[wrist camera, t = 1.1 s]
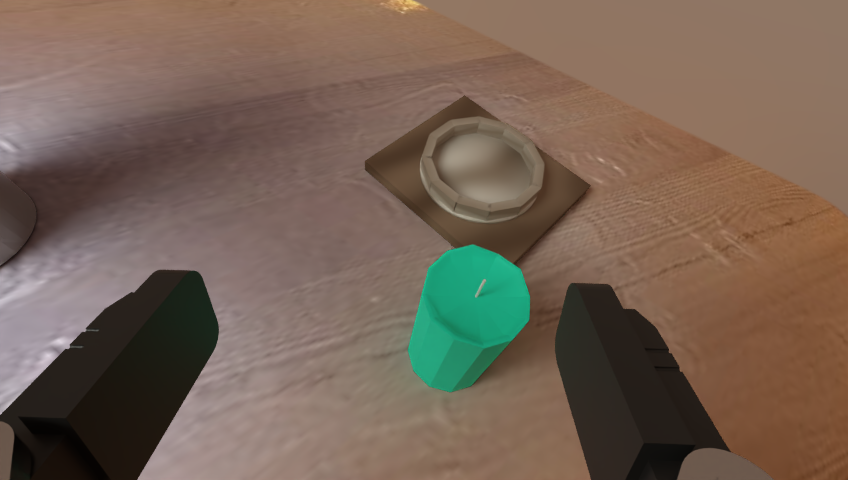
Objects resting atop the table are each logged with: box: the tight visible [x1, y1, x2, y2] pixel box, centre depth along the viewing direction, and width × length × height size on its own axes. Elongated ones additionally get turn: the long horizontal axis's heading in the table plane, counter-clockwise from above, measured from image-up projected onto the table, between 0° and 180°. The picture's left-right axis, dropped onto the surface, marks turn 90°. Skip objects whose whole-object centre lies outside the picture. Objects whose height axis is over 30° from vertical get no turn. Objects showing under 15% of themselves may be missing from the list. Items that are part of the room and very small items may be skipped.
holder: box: [365, 96, 591, 264], centre depth 39 cm, size 16×14×3 cm
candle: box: [408, 244, 530, 392], centre depth 26 cm, size 6×6×12 cm
